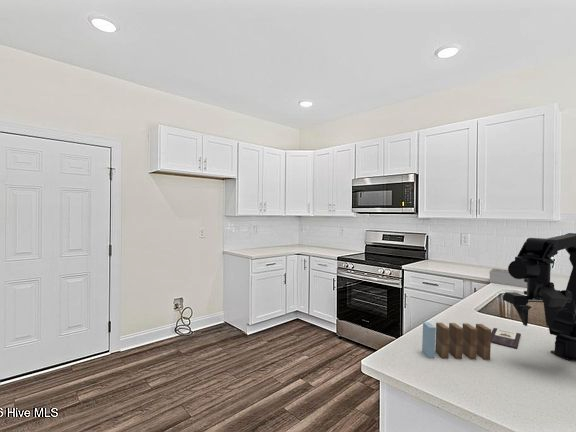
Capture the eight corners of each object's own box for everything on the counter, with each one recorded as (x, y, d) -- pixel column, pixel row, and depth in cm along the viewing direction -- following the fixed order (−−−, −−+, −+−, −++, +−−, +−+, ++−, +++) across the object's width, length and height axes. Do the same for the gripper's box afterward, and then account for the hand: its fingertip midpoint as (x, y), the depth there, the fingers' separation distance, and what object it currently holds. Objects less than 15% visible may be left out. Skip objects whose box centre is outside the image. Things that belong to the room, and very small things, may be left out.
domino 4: (467, 352, 106) (468, 323, 106) (476, 359, 101) (477, 329, 101) (461, 352, 106) (462, 323, 106) (470, 359, 101) (471, 328, 101)
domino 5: (480, 353, 106) (481, 323, 106) (490, 360, 101) (491, 329, 101) (474, 352, 106) (475, 323, 106) (483, 359, 101) (485, 329, 101)
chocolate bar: (487, 340, 116) (493, 327, 130) (487, 343, 116) (493, 330, 130) (516, 347, 110) (520, 333, 124) (516, 350, 110) (520, 336, 124)
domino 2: (441, 351, 106) (442, 322, 106) (448, 358, 101) (449, 328, 101) (435, 351, 106) (436, 322, 106) (442, 358, 101) (443, 327, 101)
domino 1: (427, 351, 106) (428, 322, 106) (434, 358, 101) (435, 327, 101) (422, 351, 106) (423, 322, 106) (428, 358, 101) (429, 327, 101)
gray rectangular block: (492, 279, 234) (492, 268, 234) (540, 286, 216) (540, 273, 215) (489, 283, 221) (489, 271, 221) (539, 290, 203) (540, 277, 203)
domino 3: (454, 352, 106) (455, 323, 106) (462, 359, 101) (463, 328, 101) (448, 352, 106) (449, 322, 106) (455, 358, 101) (456, 328, 101)
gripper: (528, 282, 92) (526, 335, 92) (592, 284, 91) (590, 336, 92) (502, 274, 103) (501, 321, 103) (559, 276, 102) (558, 323, 103)
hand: (536, 325), depth 100 cm, fingers open, 7 cm apart
